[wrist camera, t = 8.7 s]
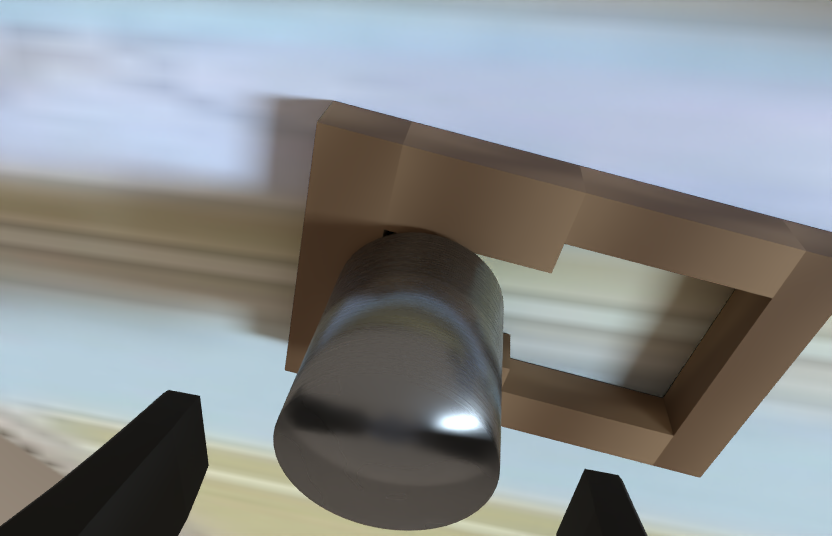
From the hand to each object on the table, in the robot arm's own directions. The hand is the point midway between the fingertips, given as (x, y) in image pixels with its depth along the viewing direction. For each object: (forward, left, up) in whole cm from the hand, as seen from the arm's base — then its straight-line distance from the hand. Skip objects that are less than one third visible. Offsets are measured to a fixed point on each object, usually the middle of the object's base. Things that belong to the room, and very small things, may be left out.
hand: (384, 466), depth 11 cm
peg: (0, 0, -7) cm, 7 cm away
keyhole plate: (-3, 0, -7) cm, 8 cm away
